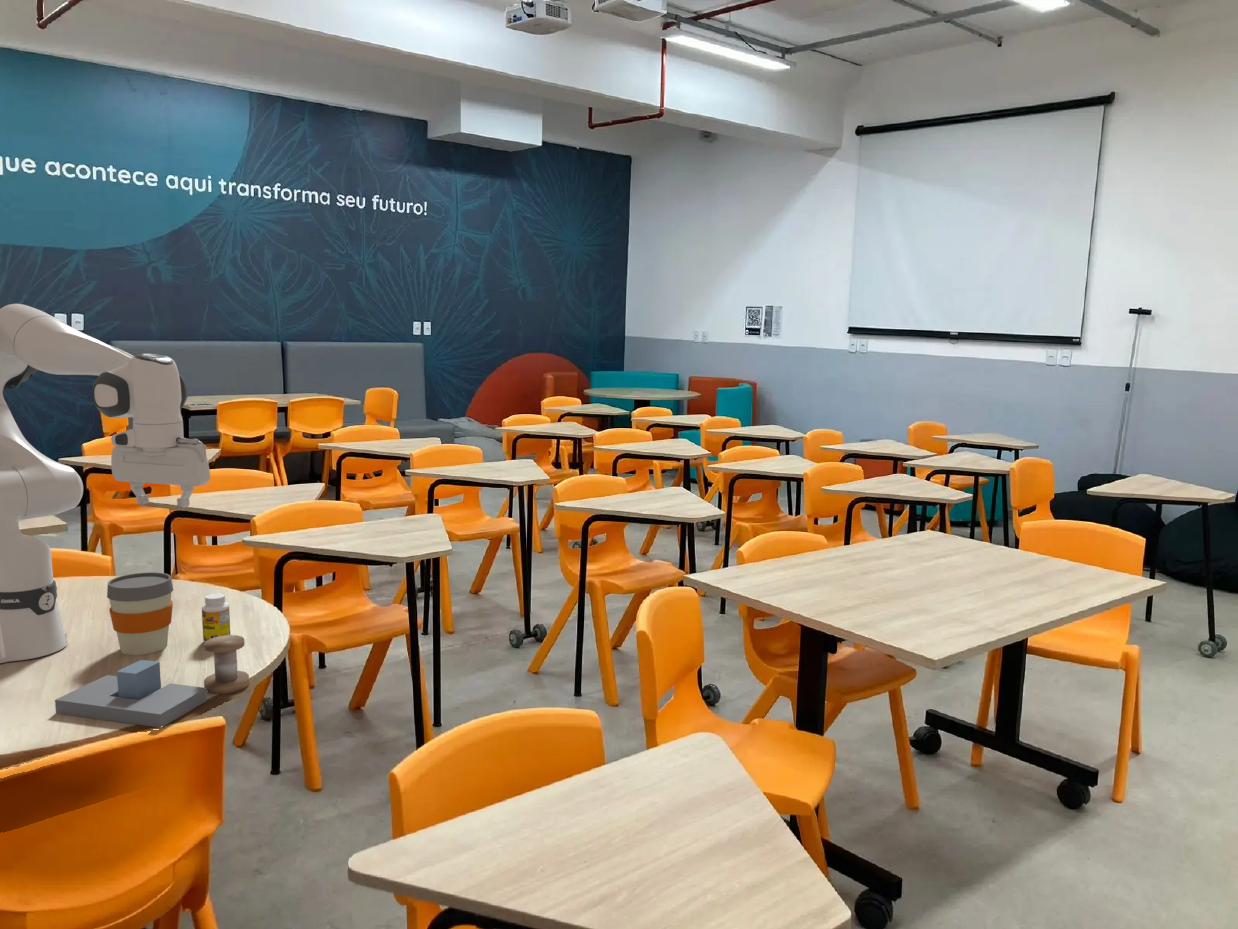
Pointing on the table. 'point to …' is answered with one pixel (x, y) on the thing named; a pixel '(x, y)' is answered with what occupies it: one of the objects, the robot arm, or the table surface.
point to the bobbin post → (225, 665)
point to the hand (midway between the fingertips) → (163, 505)
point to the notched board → (130, 703)
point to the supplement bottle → (215, 617)
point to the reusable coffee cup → (141, 611)
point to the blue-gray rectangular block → (139, 679)
